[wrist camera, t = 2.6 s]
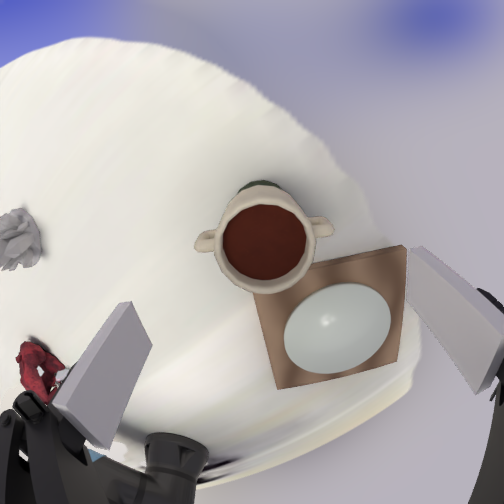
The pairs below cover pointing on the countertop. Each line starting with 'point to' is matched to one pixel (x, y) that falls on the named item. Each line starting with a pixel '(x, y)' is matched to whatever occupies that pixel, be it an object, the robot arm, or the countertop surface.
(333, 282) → the stand
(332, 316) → the saucer
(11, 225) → the crystal
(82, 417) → the robot arm
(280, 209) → the character mug
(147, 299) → the countertop surface
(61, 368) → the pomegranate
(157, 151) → the countertop surface
